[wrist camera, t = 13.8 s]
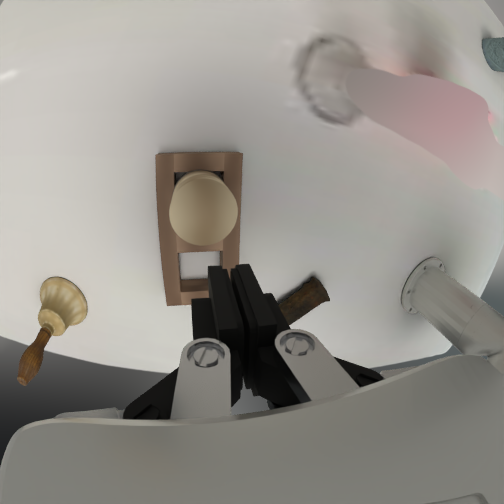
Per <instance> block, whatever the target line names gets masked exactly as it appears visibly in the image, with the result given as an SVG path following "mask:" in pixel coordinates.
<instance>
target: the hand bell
mask: <svg viewBox="0 0 504 504" xmlns="http://www.w3.org/2000/svg"><path fill="white" fill-rule="evenodd" d="M40 299H41V303H42V306H41V309H40V312H39V314H38V321H39V324H40V326H41V327H42V328H41V329H40V332H39V333H38V335H37V338H36V340H35V341H34V342H33V343H32V344H31V345H30V346H29V347H28V348H27V349H26V350H25V352H24V353H23V355H22V357H21V359H20V363H19V371H18V378H17V380H18V381H19V383H20V384H22V385H27V384H28V382H29V381H30V380H31V379H33V378H34V377H35V375H36V374H37V373H38V371H39V369H40V366H41V364H42V360H43V352H44V348H45V346H46V344H47V342H48V341H49V339H50V337H51V336H52V335H53V336H60V335H62V334H63V333H64V332H65V331H66V329H67V328H68V327H69V326H71V325H77V324H79V323H81V322H82V321H83V320H84V319H85V317H86V315H87V303H86V300H85V297H84V296H83V294H82V293H81V291H80V290H79V289H78V288H77V287H76V286H75V285H74V284H73V283H71V282H70V281H68V280H66V279H63V278H60V277H52V278H49V279H47V280H46V281H45V282H44V283H43V284H42V286H41V289H40Z"/></svg>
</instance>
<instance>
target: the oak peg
mask: <svg viewBox="0 0 504 504" xmlns="http://www.w3.org/2000/svg"><path fill="white" fill-rule="evenodd" d="M237 216H238V207H237V203H236V200H235V197H234V195H233V194H232V192H231V191H230V190H229V189H228V187H227V186H226V185H225V183H224V182H223V180H222V179H221V178H220V177H219V176H218V175H217V174H215V173H213V172H211V171H208V170H202V169H199V170H193V171H190V172H188V173H186V174H185V175H183V176H182V177H181V178H180V179H179V180H178V182H177V183H176V185H175V187H174V190H173V196H172V200H171V204H170V209H169V217H170V222H171V225H172V228H173V229H174V231H175V232H176V234H177V235H178V236H179V237H180V238H182V239H183V240H184V241H186V242H188V243H191V244H194V245H199V246H205V245H211V244H214V243H217V242H219V241H221V240H222V239H224V238H225V237H226V236H227V235H228V234H229V233H230V232H231V231H232V229H233V228H234V226H235V223H236V221H237Z"/></svg>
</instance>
